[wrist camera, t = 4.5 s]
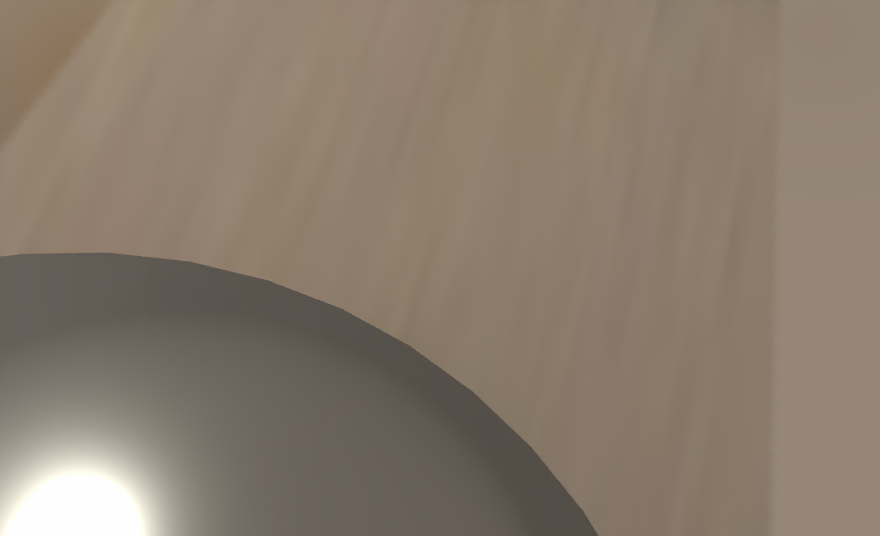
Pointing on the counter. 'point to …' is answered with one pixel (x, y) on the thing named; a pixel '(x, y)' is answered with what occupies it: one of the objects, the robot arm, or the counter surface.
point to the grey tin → (239, 415)
